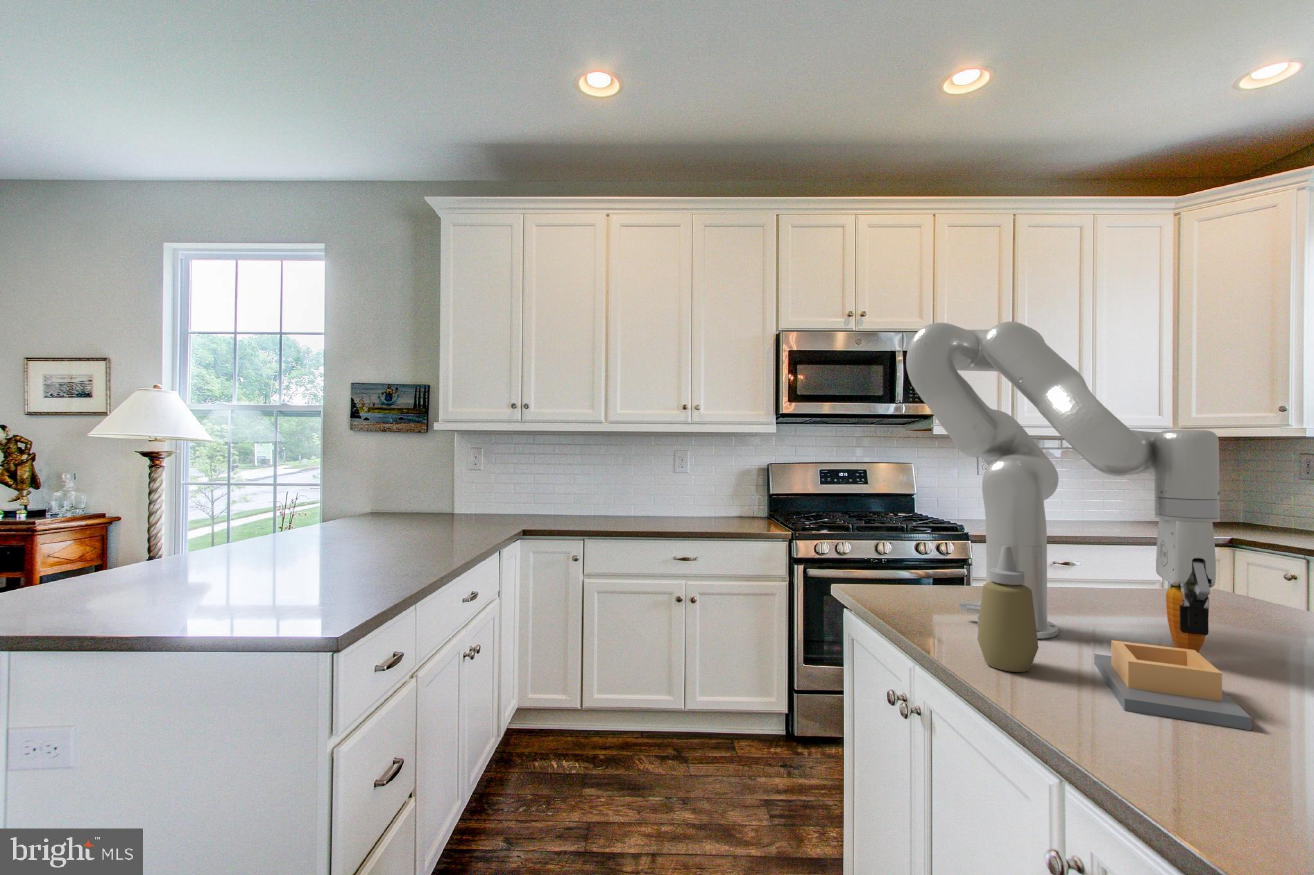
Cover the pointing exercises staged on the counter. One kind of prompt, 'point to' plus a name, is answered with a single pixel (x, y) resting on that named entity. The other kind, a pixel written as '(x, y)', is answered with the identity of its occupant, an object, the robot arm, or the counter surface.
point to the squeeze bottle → (1007, 618)
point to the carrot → (1173, 618)
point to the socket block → (1169, 684)
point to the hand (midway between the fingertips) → (1187, 627)
